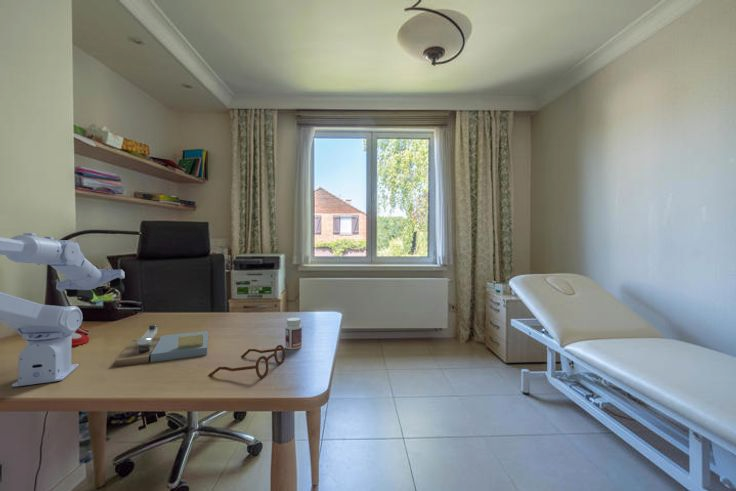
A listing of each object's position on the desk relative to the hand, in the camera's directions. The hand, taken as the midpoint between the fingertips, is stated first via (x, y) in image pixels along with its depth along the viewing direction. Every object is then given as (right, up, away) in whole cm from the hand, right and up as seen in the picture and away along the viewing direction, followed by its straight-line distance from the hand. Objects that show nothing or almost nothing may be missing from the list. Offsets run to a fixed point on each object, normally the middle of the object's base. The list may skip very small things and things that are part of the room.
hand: (107, 292), depth 91 cm
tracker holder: (-13, -16, +3) cm, 21 cm away
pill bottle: (+54, -17, +1) cm, 57 cm away
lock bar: (+14, -13, -3) cm, 19 cm away
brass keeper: (+27, -14, -4) cm, 31 cm away
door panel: (+23, -16, -1) cm, 28 cm away
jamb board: (+14, -16, -6) cm, 22 cm away
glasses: (+47, -17, -14) cm, 52 cm away
